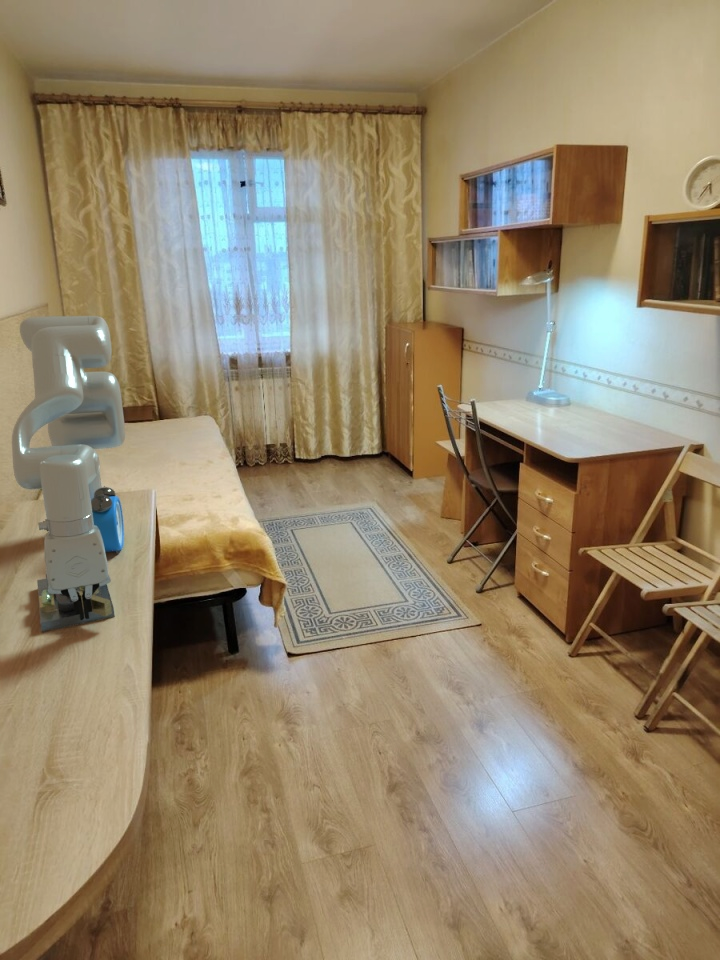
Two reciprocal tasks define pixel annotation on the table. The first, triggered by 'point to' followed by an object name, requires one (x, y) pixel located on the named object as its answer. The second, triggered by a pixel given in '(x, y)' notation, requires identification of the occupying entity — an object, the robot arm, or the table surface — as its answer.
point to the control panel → (60, 619)
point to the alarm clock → (108, 518)
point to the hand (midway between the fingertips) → (84, 616)
